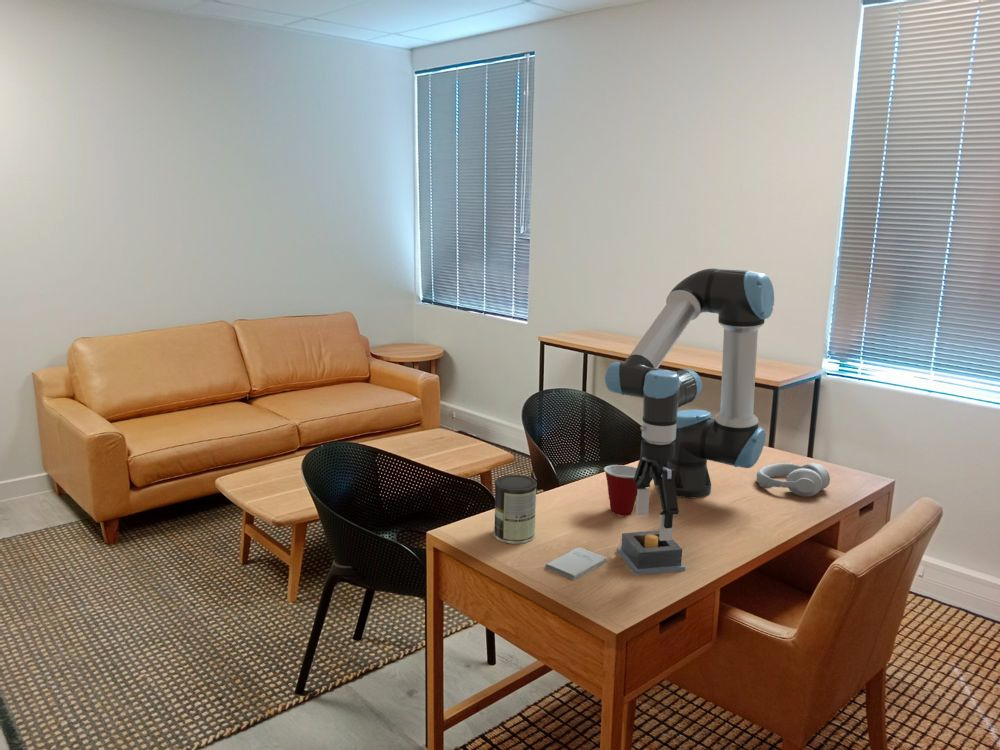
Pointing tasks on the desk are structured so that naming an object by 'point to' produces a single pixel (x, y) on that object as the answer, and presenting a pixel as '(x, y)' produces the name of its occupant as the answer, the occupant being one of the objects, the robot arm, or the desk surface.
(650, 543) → the keeper
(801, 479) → the headphones
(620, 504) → the plastic cup
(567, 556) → the external hard drive
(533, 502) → the coffee can
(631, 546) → the gray square socket block
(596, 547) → the desk surface
